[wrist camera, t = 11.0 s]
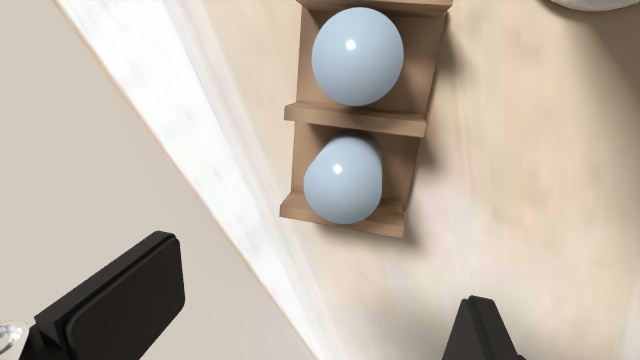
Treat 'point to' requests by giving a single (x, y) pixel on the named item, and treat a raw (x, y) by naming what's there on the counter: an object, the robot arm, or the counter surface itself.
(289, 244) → the counter surface
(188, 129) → the counter surface
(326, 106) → the rack
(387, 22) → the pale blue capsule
